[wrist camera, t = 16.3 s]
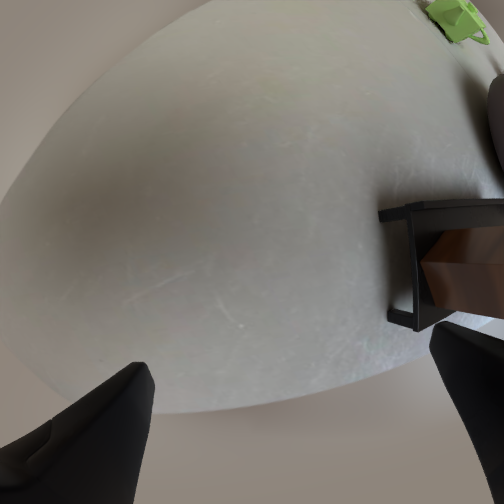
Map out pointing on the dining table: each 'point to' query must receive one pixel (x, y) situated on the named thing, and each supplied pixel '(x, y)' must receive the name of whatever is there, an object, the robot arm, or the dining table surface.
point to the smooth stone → (497, 115)
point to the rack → (425, 236)
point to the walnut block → (468, 271)
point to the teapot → (457, 20)
